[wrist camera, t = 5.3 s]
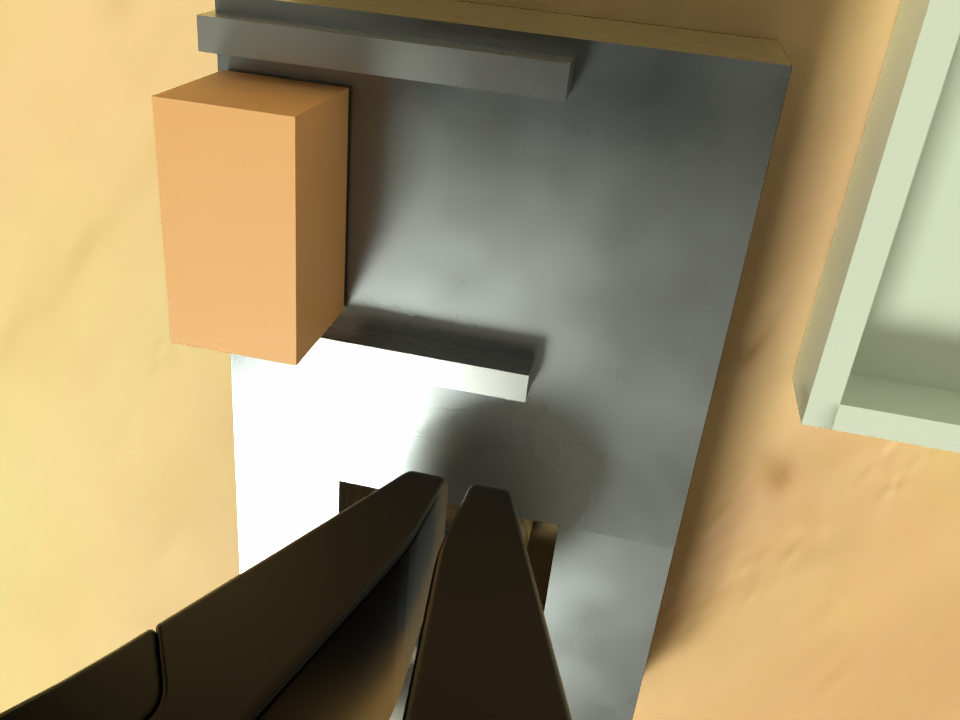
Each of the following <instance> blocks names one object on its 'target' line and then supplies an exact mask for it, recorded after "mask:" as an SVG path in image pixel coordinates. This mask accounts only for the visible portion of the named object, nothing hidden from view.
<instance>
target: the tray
mask: <svg viewBox="0 0 960 720" xmlns="http://www.w3.org/2000/svg"><path fill="white" fill-rule="evenodd" d="M792 380H793V385H794V390H795V395H796V400H797V405H798V409H799V414H800V419H801V424H804V425H810V426H815V427H821V428H826V429H832V430H837V431H843V432H848V433H854V434H859V435H865V436H870V437H876V438H881V439H887V440H892V441H898V442H903V443H909V444H914V445H920V446H925V447H931V448H936V449H942V450H947V451H953V452H958V453H960V0H902V2H901V6H900V9H899V13H898V16H897V20H896V23H895V27H894V30H893V33H892V37H891V40H890V44H889V47H888V51H887V54H886V58H885V61H884V64H883V68H882V71H881V75H880V78H879V82H878V85H877V89H876V92H875V95H874V99H873V102H872V106H871V109H870V113H869V116H868V120H867V123H866V126H865V130H864V133H863V137H862V140H861V144H860V147H859V151H858V154H857V158H856V161H855V164H854V168H853V171H852V175H851V178H850V182H849V185H848V189H847V192H846V195H845V199H844V202H843V206H842V209H841V213H840V216H839V220H838V223H837V226H836V230H835V233H834V237H833V240H832V244H831V247H830V251H829V254H828V257H827V261H826V264H825V268H824V271H823V275H822V278H821V282H820V285H819V288H818V292H817V295H816V299H815V302H814V306H813V309H812V313H811V316H810V319H809V323H808V326H807V330H806V333H805V337H804V340H803V344H802V347H801V351H800V354H799V357H798V361H797V364H796V368H795V371H794V375H793V378H792Z"/></svg>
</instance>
